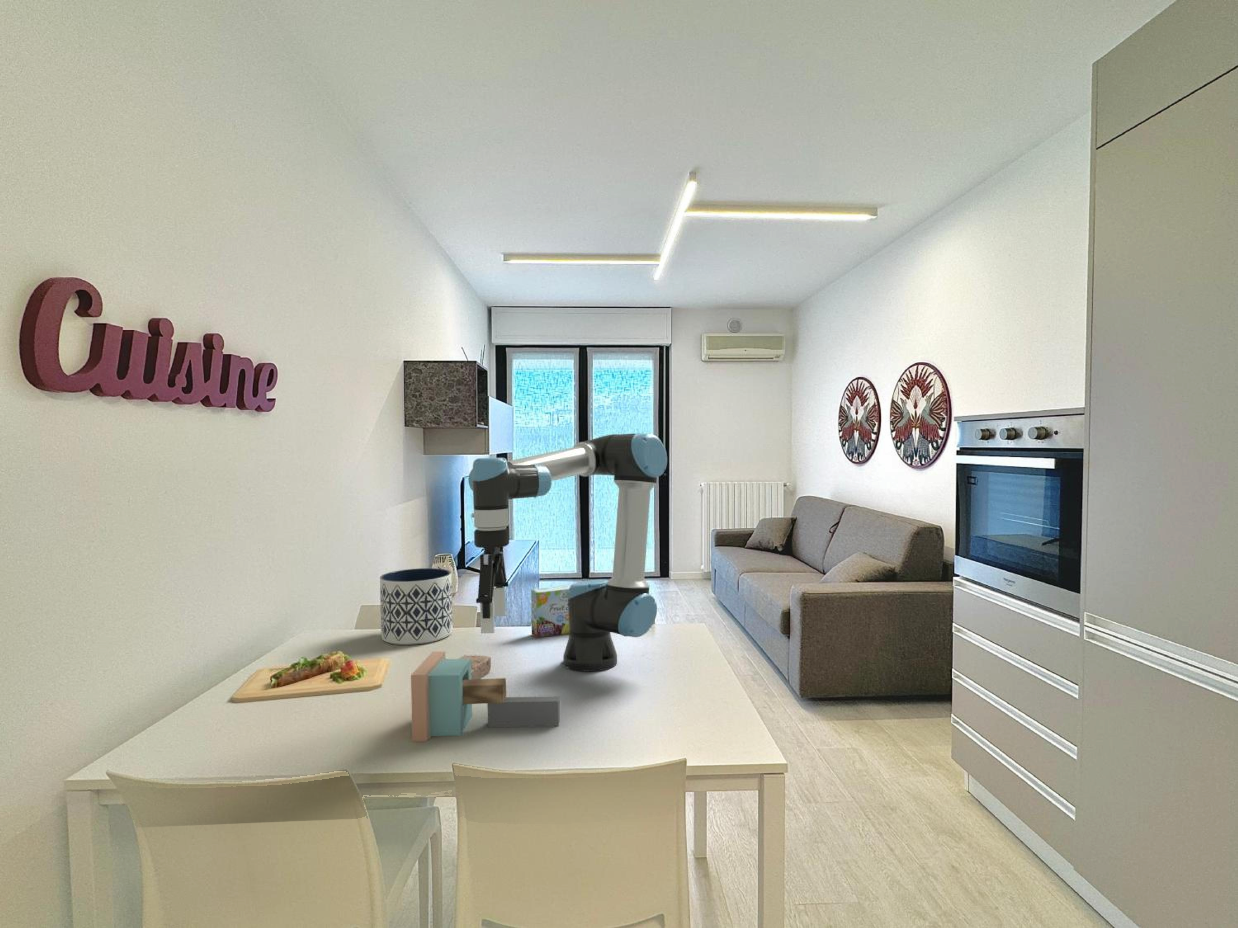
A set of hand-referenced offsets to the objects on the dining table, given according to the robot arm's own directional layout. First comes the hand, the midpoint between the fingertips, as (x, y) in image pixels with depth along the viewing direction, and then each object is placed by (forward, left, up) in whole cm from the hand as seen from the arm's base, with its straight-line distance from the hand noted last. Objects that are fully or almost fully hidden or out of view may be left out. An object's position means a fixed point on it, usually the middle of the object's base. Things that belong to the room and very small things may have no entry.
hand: (493, 624), depth 148 cm
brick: (+14, -28, -23) cm, 39 cm away
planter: (+39, -71, -23) cm, 84 cm away
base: (+15, 0, -22) cm, 27 cm away
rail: (-6, 0, -22) cm, 23 cm away
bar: (+4, 0, -17) cm, 17 cm away
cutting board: (+53, -30, -23) cm, 66 cm away
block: (+10, 0, -22) cm, 24 cm away
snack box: (-9, -73, -23) cm, 77 cm away
